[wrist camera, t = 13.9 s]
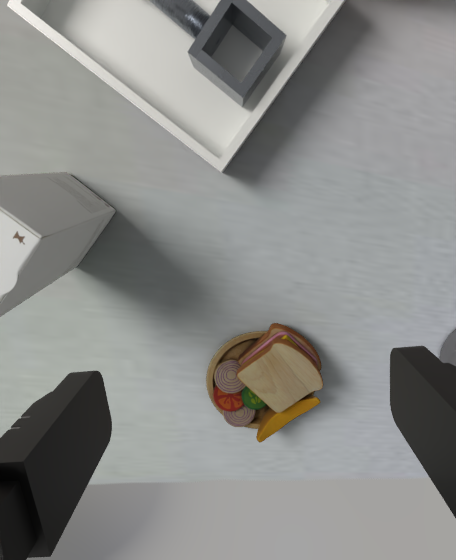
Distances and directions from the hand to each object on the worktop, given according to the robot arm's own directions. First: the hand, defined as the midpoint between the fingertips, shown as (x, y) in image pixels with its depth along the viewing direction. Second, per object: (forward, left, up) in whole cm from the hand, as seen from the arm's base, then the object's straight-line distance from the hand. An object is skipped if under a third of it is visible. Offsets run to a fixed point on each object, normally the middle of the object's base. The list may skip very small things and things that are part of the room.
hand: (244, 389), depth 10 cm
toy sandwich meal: (-5, +16, -30) cm, 34 cm away
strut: (+7, -18, -29) cm, 35 cm away
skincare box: (+17, +1, -30) cm, 34 cm away
